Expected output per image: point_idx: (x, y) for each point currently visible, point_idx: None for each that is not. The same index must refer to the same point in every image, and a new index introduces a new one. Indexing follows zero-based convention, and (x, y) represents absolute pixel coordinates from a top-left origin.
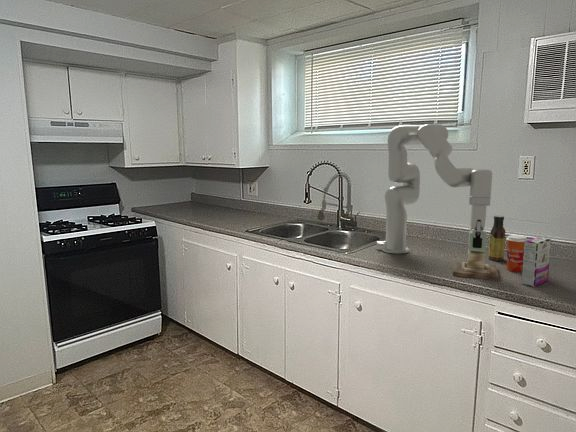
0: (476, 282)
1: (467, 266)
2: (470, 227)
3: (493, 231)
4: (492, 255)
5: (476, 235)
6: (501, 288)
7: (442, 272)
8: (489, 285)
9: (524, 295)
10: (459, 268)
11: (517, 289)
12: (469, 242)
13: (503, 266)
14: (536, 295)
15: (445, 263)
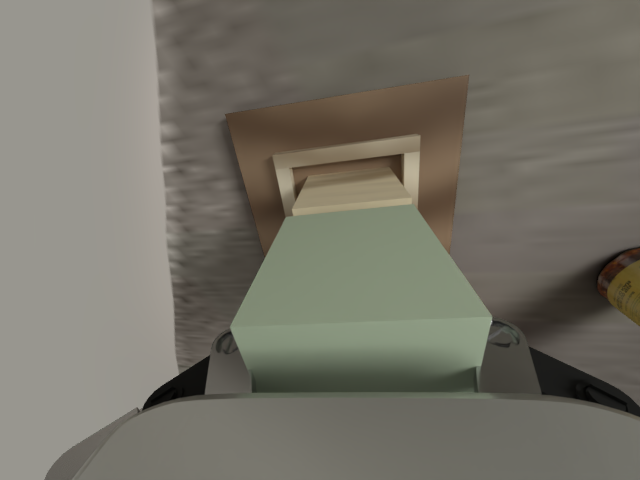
0: (202, 220)
1: (306, 181)
2: (191, 437)
3: None
4: (631, 273)
5: (180, 381)
6: (194, 291)
7: (259, 37)
8: (199, 260)
9: (176, 335)
10: (312, 134)
11: (216, 325)
12: (269, 254)
13: (493, 297)
14: (197, 355)
15: (490, 3)
